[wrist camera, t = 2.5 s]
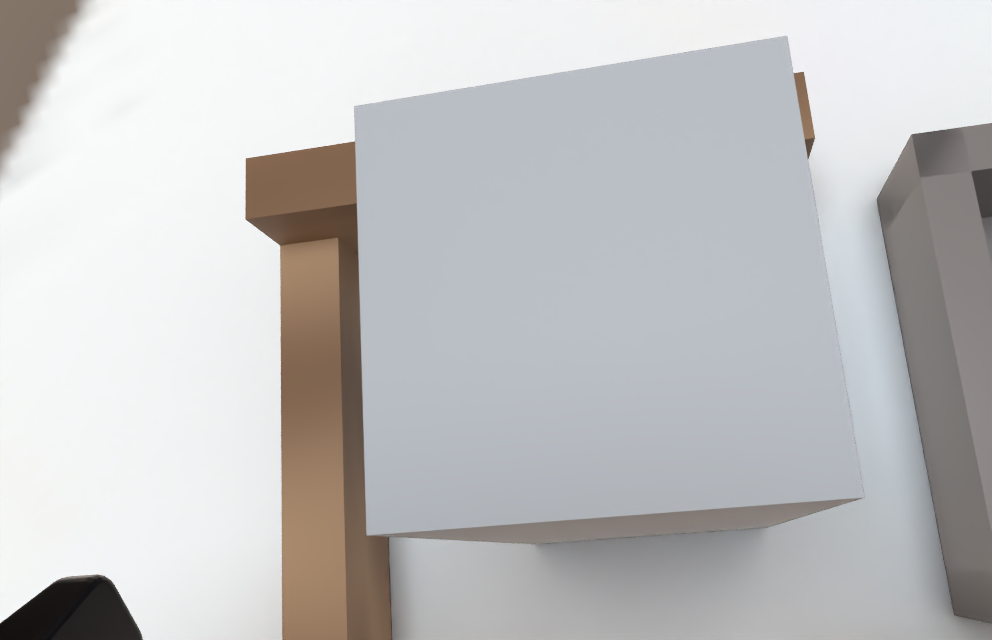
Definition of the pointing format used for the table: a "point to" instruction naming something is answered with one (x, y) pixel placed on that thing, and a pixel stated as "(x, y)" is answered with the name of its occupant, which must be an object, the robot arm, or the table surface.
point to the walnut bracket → (330, 392)
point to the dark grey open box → (949, 336)
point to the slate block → (598, 306)
